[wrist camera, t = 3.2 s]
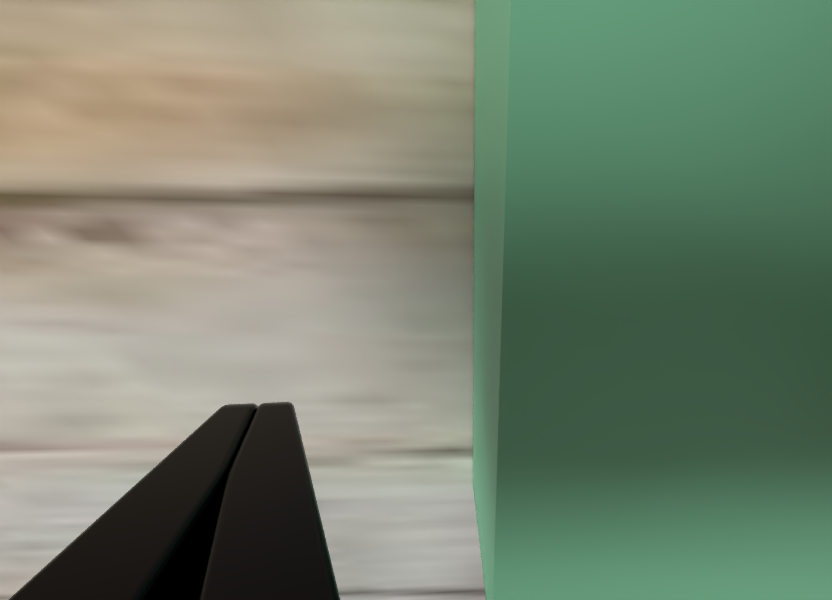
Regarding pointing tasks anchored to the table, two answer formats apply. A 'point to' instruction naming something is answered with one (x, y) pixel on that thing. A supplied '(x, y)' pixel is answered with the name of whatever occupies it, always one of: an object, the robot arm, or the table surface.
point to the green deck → (653, 299)
